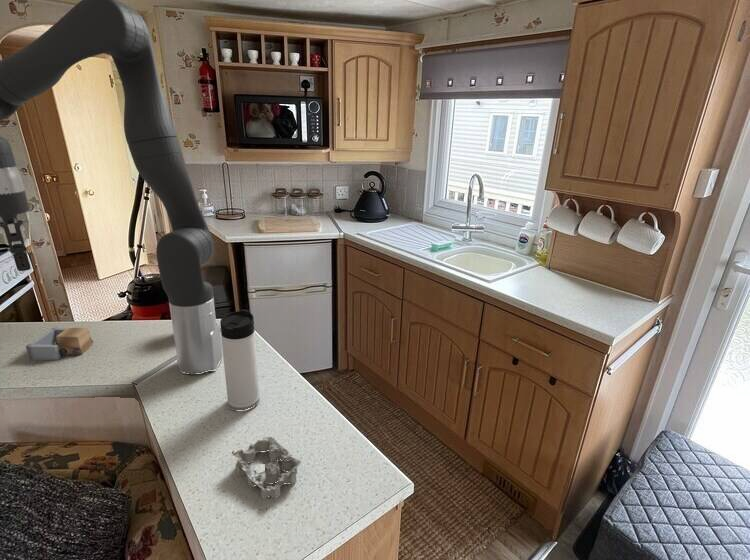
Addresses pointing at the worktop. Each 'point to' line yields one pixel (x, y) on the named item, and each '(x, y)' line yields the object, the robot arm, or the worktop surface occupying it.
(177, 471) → the worktop surface
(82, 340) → the small wooden block
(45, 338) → the bay
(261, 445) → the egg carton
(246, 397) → the travel mug
